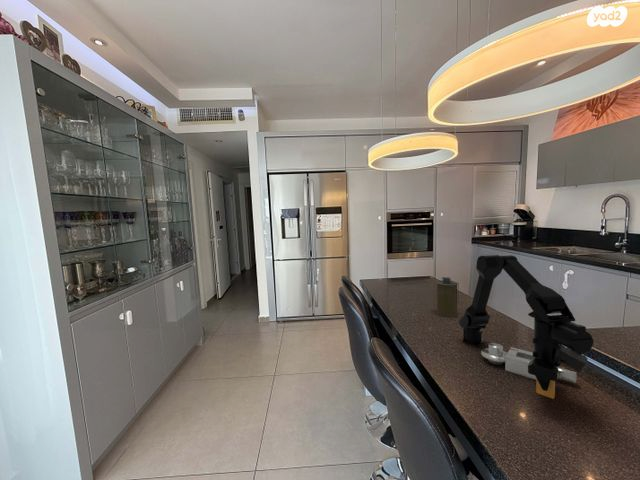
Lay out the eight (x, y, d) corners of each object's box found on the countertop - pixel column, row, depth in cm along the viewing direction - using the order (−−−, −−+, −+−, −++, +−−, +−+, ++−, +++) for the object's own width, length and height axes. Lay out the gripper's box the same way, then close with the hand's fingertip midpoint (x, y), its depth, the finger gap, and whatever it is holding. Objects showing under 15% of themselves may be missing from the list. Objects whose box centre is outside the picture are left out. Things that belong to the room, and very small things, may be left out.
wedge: (536, 393, 80) (536, 367, 79) (537, 389, 81) (537, 364, 81) (553, 399, 77) (554, 372, 76) (554, 394, 79) (555, 368, 78)
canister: (435, 315, 146) (434, 278, 144) (438, 309, 154) (438, 275, 153) (457, 318, 140) (457, 280, 138) (459, 312, 148) (459, 276, 147)
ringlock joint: (478, 362, 98) (478, 346, 97) (485, 352, 104) (485, 337, 103) (575, 392, 79) (575, 372, 79) (576, 378, 86) (577, 360, 85)
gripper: (584, 358, 66) (583, 418, 67) (586, 333, 79) (584, 383, 80) (527, 344, 74) (527, 398, 75) (537, 323, 87) (536, 370, 88)
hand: (545, 387), depth 79 cm, fingers open, 3 cm apart
